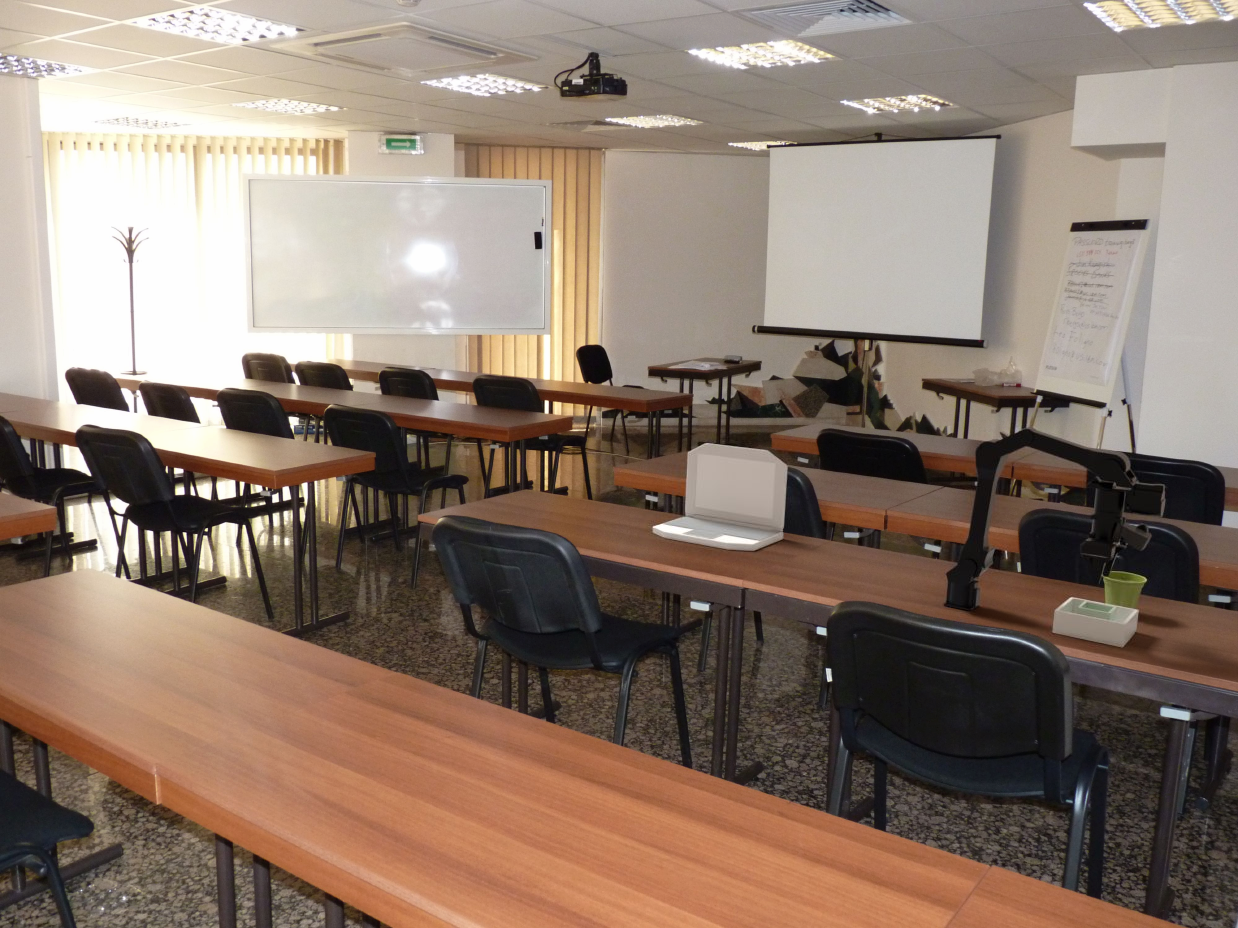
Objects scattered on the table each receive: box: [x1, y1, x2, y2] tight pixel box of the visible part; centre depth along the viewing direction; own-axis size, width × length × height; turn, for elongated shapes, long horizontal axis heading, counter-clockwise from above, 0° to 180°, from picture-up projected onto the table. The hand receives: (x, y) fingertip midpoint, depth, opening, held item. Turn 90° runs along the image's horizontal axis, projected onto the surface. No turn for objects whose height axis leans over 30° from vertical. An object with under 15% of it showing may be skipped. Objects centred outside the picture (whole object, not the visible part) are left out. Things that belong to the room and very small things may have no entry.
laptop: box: [652, 442, 789, 552], centre depth 296 cm, size 33×24×26 cm
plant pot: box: [1102, 570, 1148, 610], centre depth 234 cm, size 9×9×9 cm
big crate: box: [1051, 597, 1139, 648], centre depth 218 cm, size 14×14×5 cm
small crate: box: [1077, 601, 1117, 621], centre depth 218 cm, size 6×6×5 cm
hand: (1100, 580), depth 217 cm, fingers open, 9 cm apart
